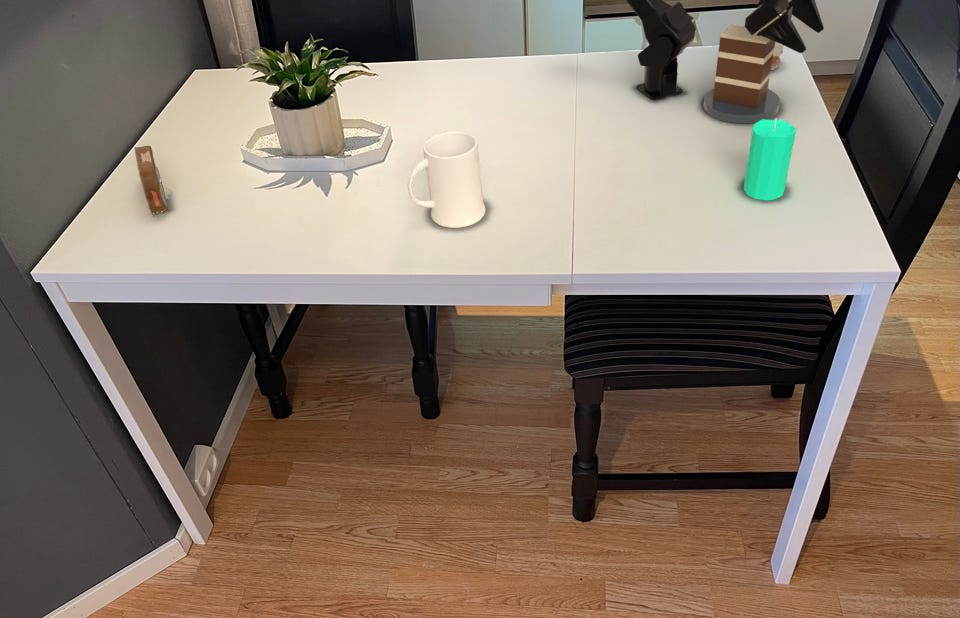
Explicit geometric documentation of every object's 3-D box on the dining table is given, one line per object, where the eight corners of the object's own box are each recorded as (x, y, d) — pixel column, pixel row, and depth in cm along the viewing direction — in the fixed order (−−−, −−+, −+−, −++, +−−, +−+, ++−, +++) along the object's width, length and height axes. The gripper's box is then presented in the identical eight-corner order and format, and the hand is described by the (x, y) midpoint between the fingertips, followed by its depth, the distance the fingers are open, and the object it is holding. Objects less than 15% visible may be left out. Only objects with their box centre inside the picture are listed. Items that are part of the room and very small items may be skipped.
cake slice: (712, 100, 142) (720, 34, 134) (723, 88, 145) (731, 24, 137) (756, 108, 138) (766, 41, 130) (766, 96, 141) (777, 30, 133)
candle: (786, 201, 118) (800, 128, 111) (744, 199, 120) (755, 127, 112) (782, 180, 123) (796, 109, 115) (742, 178, 124) (753, 108, 116)
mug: (422, 240, 118) (410, 170, 111) (404, 212, 125) (392, 144, 117) (494, 218, 121) (488, 149, 114) (473, 192, 127) (466, 125, 120)
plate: (689, 100, 146) (690, 93, 145) (749, 85, 149) (750, 77, 148) (730, 130, 136) (731, 122, 135) (794, 112, 139) (795, 104, 138)
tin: (146, 182, 139) (129, 139, 134) (164, 178, 140) (148, 135, 135) (154, 224, 128) (135, 179, 123) (173, 219, 129) (156, 174, 124)
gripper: (776, -54, 115) (839, 31, 117) (816, -88, 126) (873, -10, 128) (718, -6, 124) (778, 73, 126) (760, -41, 135) (814, 31, 137)
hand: (812, 40), depth 129 cm, fingers open, 9 cm apart
